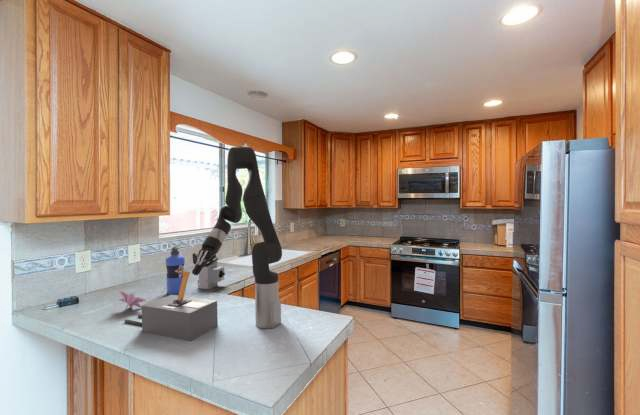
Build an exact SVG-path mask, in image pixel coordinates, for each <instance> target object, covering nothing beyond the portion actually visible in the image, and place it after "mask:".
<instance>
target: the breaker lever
mask: <svg viewBox="0 0 640 415" xmlns="http://www.w3.org/2000/svg"><path fill="white" fill-rule="evenodd" d="M190 274H191V271H184V272H183V279H182V283H181V287H180V291H179V294H178V299H177V302H180V301H181V300H183V297H184V296H185V293H186V288H187V284H188V280H189V277H190Z"/></svg>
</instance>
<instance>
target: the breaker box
mask: <svg viewBox="0 0 640 415" xmlns="http://www.w3.org/2000/svg"><path fill="white" fill-rule="evenodd" d="M178 295H179V294H178ZM178 295H166V296H164V297H161V298H159V299H156V300H153V301H150V302H148V303H145V304H142V305H141V307H142V308H141V313H139V314H138V315H137V317H138V318H141V321H137V320H132V319H125V320H124V323H126V324H131V325H137V326H141V332H144V333H147V334H153V335H158V336H162V337H166V338H173V339H177V340H183V341H187V342H192V341H194V340H196V339H197V338H199V337H200V336H202V335H204V334H206V333H207V332H209V331H211V330H213V329H214V328H216V327H218V325H219V323H218V319H219V318H218V300H214V299H207V298H200V297H192V296H185V295H184V297H183V300H181V301H180V302H177V299H178Z"/></svg>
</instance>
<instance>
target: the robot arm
mask: <svg viewBox="0 0 640 415" xmlns="http://www.w3.org/2000/svg"><path fill="white" fill-rule="evenodd" d="M226 162H227V164H226V166H227V167H226V168H227V170H226V171H227V173H226V174H227V175H226V176H227V181H226V182H227V185H226V186H227V188H226V192H225V193H226V194H225V205H223V206H221V208H219V209H220V210H219V215H218V217H217V221H216V223H215V224H214V226H213V227H212V229H211V231H210V232H209V233H208V235H207V236H206V238H205V240H204V241H203V242H202V243H201V249H200V250H199V251H198V252H197V253H192V263H193V264H194V268H193V269H192V271H191V273H192V274H193V275H194V276H199V273H200V271H201V270H202V268H204V267H208V266H209V265H211V264H212V263H214V262H215V261H216V260H217V261H218V260H219V258H218V257H217V254H219V253H218V252H219V251H220V249H221V248H222V247H223V244H224V242H225V240H226V237H228V234H229V233H230V231H231V228H232V225H231V224H230V223H232V224H237V223H239V222H240V221H241V220H242V217H243V210H242V204H241V203H243V205H244V209H245V213H246V215H247V218H249V219H250V220H251V221H252V223H253V224H254V225H255V226H256V227H257V228H258V230H259V232H260V234H261V235H262V238H263V239H262V240H263V241H258V242H256V243H254V244H253V245H252V250H251V263H252V274H253V278H254V297H255V298H254V300H255V302H254V304H255V308H254V310H255V326H256V327H257V328H259V329H274V328H276V327H277V326H279V324H281V323H282V300H281V298H280V297H279V296H280V295H279V274H278V273H277V272H275V271H272V270H270V265H271V264H274V263H275V264H276V263H278V262H280V261H281V259H282V258H283V257H282V256H283V250H282V245H281V243H280V242H281V241H280V239H279V237H278V235H277V232H276V229H275V227H274V223H273V221H272V217H271V213H270V210H269V205H268V202H267V201H268V200H267V198H266V194H265V191H264V188H263V183H262V181H261V175H260V170H259V166H258V158H257V154H256V153H255V150H254V149H253V147H249V146H232V147H230V148H229V150H228V152H227V161H226ZM244 169H245V170H246V169H247V171H248V181H247V184H246V186H245V188H244V191H243V186H242V185H241V183H240V181H239V179H238V177H237V170H244ZM242 201H243V202H242ZM208 262H209V263H208Z"/></svg>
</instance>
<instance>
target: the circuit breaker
mask: <svg viewBox="0 0 640 415" xmlns="http://www.w3.org/2000/svg"><path fill="white" fill-rule="evenodd" d="M208 263H209V262H208ZM225 275H226V272H225V267H224V266H218V260H216V261H215V262H214V263H212V264H211V265H209V266H208V267H204V268H202V270H201V271H200V273H199V274H198V279H197V289H201V290H202V289H203V290H204V289H205V290H211V289H214V288H215V287H217V286H219V282H222V281H224V280H225Z"/></svg>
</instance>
